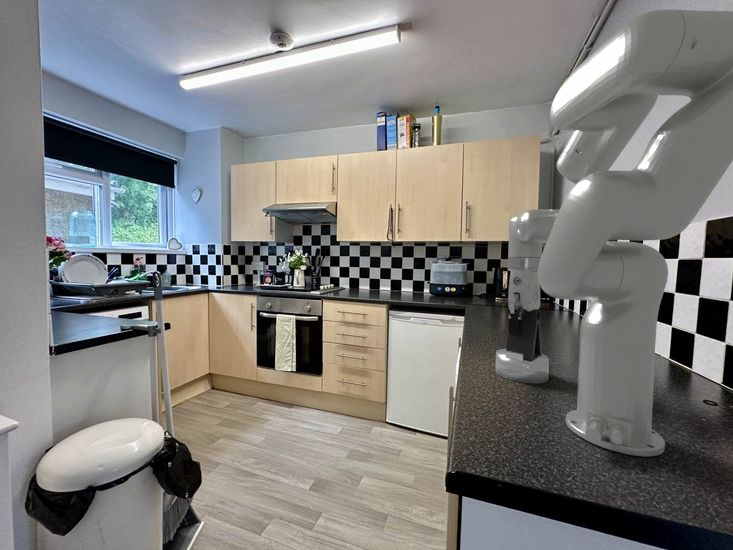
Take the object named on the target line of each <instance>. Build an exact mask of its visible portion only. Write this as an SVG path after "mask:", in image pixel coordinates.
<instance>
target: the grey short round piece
mask: <svg viewBox="0 0 733 550" xmlns="http://www.w3.org/2000/svg"><path fill="white" fill-rule="evenodd" d="M549 365H550V357H548V356H547V355H546V354H543V353H542V355H541V356H539V357H538V358H536V359H535V360H534V361H532V362H531V361H526V360H524V354H522V353H517V352H512V351H506V348H500V349H497V350H496V351H495V373H496V374H497V375H498V376H500V377H502V378H504V379H507V380H510V381H512V382H518V383H523V384H543V383H546V382H548V381H549V369H550V368H549Z"/></svg>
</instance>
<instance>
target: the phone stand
mask: <svg viewBox="0 0 733 550" xmlns="http://www.w3.org/2000/svg"><path fill="white" fill-rule="evenodd" d="M518 313H519V311H518ZM522 320H524V323H523V336H521V337H520V336H514V335H509V334H508V335H507V343H506V348H505V349H506V351H512V352H517V353H522V354H524V360H526V361H531V362H532V361H534V360H535V359H536V358H538V357H539V356H541V355H542V354H543V344H542V333H541V332H542V331H541V310H540V308H539V309H536V310H533V311H530V312H527V311H526V309H525V310H524V313H523V317H522Z"/></svg>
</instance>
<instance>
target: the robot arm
mask: <svg viewBox="0 0 733 550" xmlns="http://www.w3.org/2000/svg"><path fill="white" fill-rule="evenodd" d="M659 96H683V97H688V98H690V101H688V102H687V103H686V104H685V105H683V106H682V107H681V108H679V109H678V110H677V111H675V112H674V113H672V115H671V116H669V118H668V119H667V120H666V121H664V123H663V124H662V125H661V126H660V127H659V128H658V129H657V130H656V131H655V133H654V134H653V136H652V137H651V138H650V140H649V142H648V144H647V146H646V149H645V151H644V153H643V154H642V156H641V158H640V160H639V161H638V163H637V164H636V166H634V168H633V169H632V170H610V169H611V168H612V166H613V165H614V164H615V162H616V160H617V159H618V158H619V156H620V155H621V153H622V152H623V150H624V149H625V148H626V146H627V145H628V144H629V143H630V140H631V139H632V138H633V137H634V135H635V134H636V133H637V131H638V129H640V127H641V125H642V124H643V122H644V121H645V120H646V119H647V117H648V115H649V114H650V112H651V111H652V110H653V108H654V106H655V104H656V102H657V100H658V98H659ZM549 120H550V124H551V125H552V126H553V128H554V129H556V130H558V131H571V132H572V131H573V132H572V134H571V136H570V137H569V139H568V142H566V144H565V147H564V148H563V149H562V151H561V154H560V155H559V157H558V159H557V161H556V169H557V171H558V173H559V174H560V175H561V176H562V177H563V178H565V179H566V180H568V181H569V182H571V183H573V184H574V185H573V187H572V188H571V189H570V190H569V191H568V193H567V194H566V196H565V197H564V199H563V201H562V204H561V205H560V208H559V209H547V208H546V209H544V208H543V209H542V208H541V209H539V208H537V209H536V208H535V209H528V210H526V211H524V212H522V214H520V215H516V216H513V217H512V218H511V219H510V220H509V223H508V225H509V226H508V251H507V252H508V254H507V255H508V257H507V261H508V263H507V271H509V272H510V273H509V274H510V275H509V282H508V283H509V284H508V297H507V298H508V303H507V304H508V305H507V306H508V333H507V334H508V335H514V336H520V337H521V336H523V323H524V320H522V317H523V313H524V310H525V309H526V311H527V312H530V311H533V310H536V309H539V310H540V308H541V290H542V291H543V292H544V293H545V294H547V296H549V297H553V298H555V299H559V300H567V301H571V300H572V301H591V303H590V304H589V306H588V307H587V309H586V311H585V312H584V314H583V316H582V319H581V322H580V327H579V347H578V349H579V350H578V355H579V356H578V371H577V373H578V377H577V378H578V379H577V402H576V403H577V404H576V405H577V407H576V409H574V410H571V411H569V412H567V414H565V423H566V426H567V427H568V428H569V429H570V430H571V431H572V432H573V433H574V434H576V435H577V436H578V437H580V438H582V439H583V440H585V441H587V442H589V443H591V444H593V445H595V446H598V447H600V448H603V449H606V450H610V451H613V452H616V453H620V454H624V455H630V456H637V457H655V456H659V455H662V454H663V453H664V452H665V449H666V448H665V447H666V442H665V439H664V438H663V436H661V435H660V434H659V433H658V432H657V431H655V430H654V429H652V427H653V425H652V424H653V423H652V422H653V402H654V385H655V384H654V379H655V378H654V377H655V358H656V356H655V355H656V341H657V340H656V339H657V338H656V337H657V325H658V324H657V323H658V316H659V310H660V305H661V302H662V299H663V295H664V293H665V289H666V285H667V283H668V278H669V277H668V276H669V267H668V263H667V261H666V258H665V257H664V256H663V254H661V252H659V250H657V249H655V248H654V247H652V246H650V245H648V244H645V243H640V242H634V241H660V240H668V239H671V238H673V237H675V236H677V235H680V234H681V233H683V231H684V230H685V229H687V228H688V227H689V225H690V224H691V223H692V221H693V220H694V219H695V217H696V216H697V214H698V213H699V212H700V210H701V209H702V206H704V204H705V203H706V202H707V200H708V199H709V197H710V195H711V194H712V192H713V190H715V188H716V186H717V185H718V183H719V182H720V181H721V179H722V177H723V176H724V175H725V173H726V172H727V170H728V169H729V167H730V165H731V164H732V162H733V10H732V11H731V10H692V9H691V10H690V9H654V10H651V11H647V12H645V13H642V14H639V15H637V16H635V17H633V18H632V19H630V20H628V21H627V22H626V23H624V25H622V26H621V27H620V28H619V29H617V30H616V31H615V32H614V33H613V34H612V35H611V36H610V37H609V38H607V39H606V40H605V41H604V42H603V43H602V44H601V45H600V46H599V47H598V48H596V50H594V51H593V52H592V53H591V54H590V55H589V56H588V57H586V58H585V59H584V60H583V61H582V62H581V63H580V64H579V65H578V66H577V67H576V68H575V69H574V70H573V71H572V72H571V74H570V75H569V76H568V77H567V78H566V79H565V81H564V82H563V84H561V86H560V87H559V88H558V91H557V92H556V94H555V96H554V98H553V100H552V103H551V106H550V112H549ZM543 244H545V246H544V248H543ZM518 311H519V313H518Z"/></svg>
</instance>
